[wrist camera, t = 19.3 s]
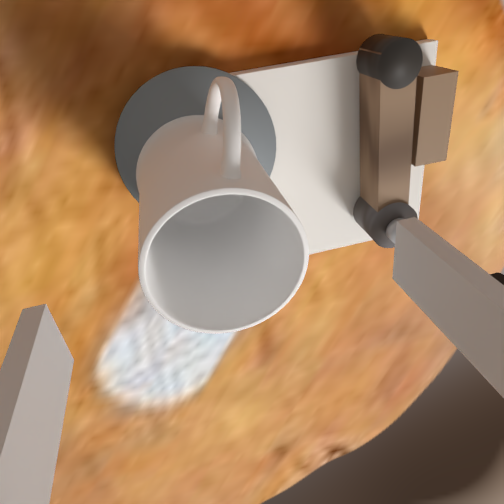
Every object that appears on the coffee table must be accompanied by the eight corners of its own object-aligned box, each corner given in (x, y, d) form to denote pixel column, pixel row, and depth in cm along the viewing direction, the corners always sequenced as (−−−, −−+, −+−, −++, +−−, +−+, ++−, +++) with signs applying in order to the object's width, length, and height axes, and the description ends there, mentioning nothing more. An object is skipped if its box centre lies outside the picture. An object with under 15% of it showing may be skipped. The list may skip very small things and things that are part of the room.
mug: (148, 46, 25) (151, 80, 15) (282, 76, 27) (363, 123, 17) (130, 223, 30) (124, 336, 20) (243, 235, 33) (288, 340, 23)
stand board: (155, 280, 35) (158, 331, 30) (93, 78, 26) (80, 99, 21) (410, 223, 38) (453, 260, 32) (429, 23, 29) (492, 28, 24)
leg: (350, 39, 27) (374, 44, 24) (402, 29, 27) (432, 32, 24) (353, 231, 34) (372, 252, 32) (393, 221, 35) (416, 241, 32)
